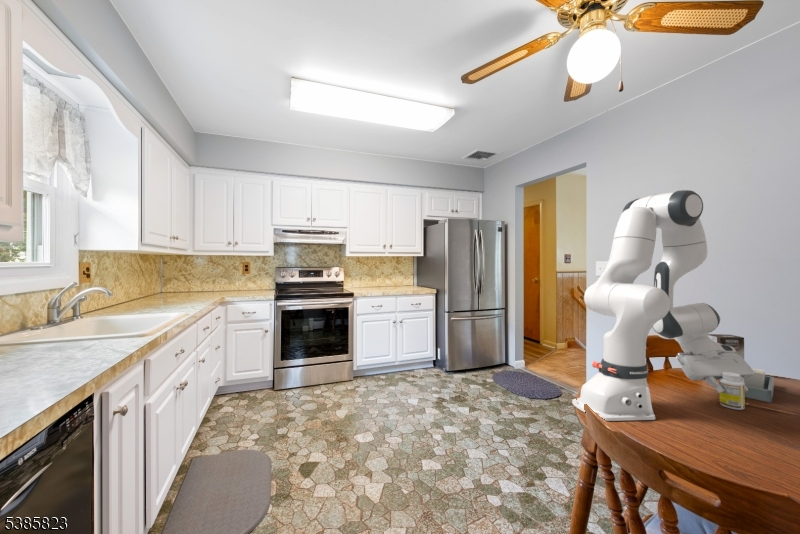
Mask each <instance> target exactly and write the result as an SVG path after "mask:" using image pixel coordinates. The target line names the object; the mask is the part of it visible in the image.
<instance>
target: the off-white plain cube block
mask: <svg viewBox="0 0 800 534" xmlns="http://www.w3.org/2000/svg"><path fill="white" fill-rule="evenodd" d="M751 368H752V370H753V372H754V375H752V376H751V377H749V378H747V379H744V383H745V386H749V387H754V388H760V389H765V376H766V373H765V372H766V371H765V369H760V368H754V367H751Z"/></svg>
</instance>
